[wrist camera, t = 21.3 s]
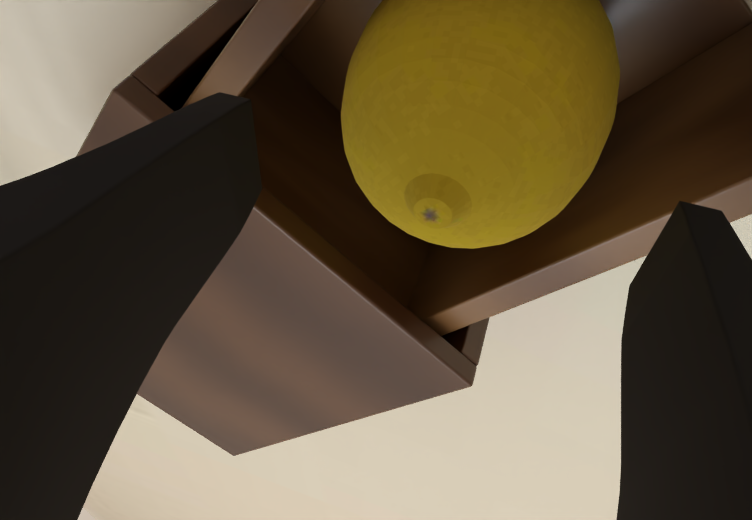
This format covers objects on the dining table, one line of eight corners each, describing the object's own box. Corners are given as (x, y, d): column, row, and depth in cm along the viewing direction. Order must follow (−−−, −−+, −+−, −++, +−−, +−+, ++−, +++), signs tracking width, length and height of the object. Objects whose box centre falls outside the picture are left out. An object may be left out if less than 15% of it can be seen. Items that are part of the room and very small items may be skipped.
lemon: (465, -157, 13) (334, -13, 8) (680, -31, 13) (694, 189, 8) (376, 51, 17) (253, 235, 12) (541, 142, 17) (492, 359, 12)
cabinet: (279, -52, 18) (111, 88, 12) (520, 194, 21) (473, 386, 16) (125, 172, 28) (-5, 303, 22) (307, 313, 31) (233, 456, 26)
